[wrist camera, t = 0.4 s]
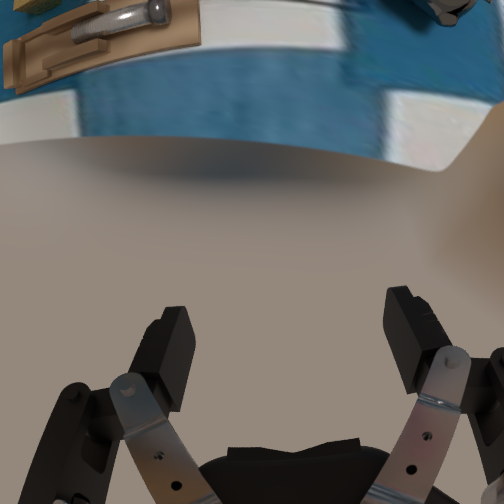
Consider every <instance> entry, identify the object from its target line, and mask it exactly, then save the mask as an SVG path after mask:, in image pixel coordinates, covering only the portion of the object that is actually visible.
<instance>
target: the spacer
mask: <svg viewBox="0 0 504 504" xmlns="http://www.w3.org/2000/svg"><path fill="white" fill-rule="evenodd" d="M61 4H62V0H14V9H13V11H18V12H24V13H30V14H35V15H40V14H42V13H44V12H46V11H48V10H50V9H52V8H54V7H57V6H59V5H61Z"/></svg>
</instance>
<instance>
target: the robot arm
mask: <svg viewBox="0 0 504 504" xmlns="http://www.w3.org/2000/svg"><path fill="white" fill-rule="evenodd" d="M383 328H384V332H385V335H386V338H387V340H388V343H389V345H390V348H391V350H392V353H393V356H394V359H395V361H396V364H397V367H398V369H399V372H400V375H401V378H402V381H403V383H404V386H405V389H406V392H407V394H411V393H416V392H417V394H418V399H417V401H416V404H415V406H414V408H413V410H412V412H411V415H410V417H409V419H408V421H407V423H406V425H405V427H404V429H403V431H402V433H401V435H400V437H399V439H398V441H397V443H396V445H395V446H394V448H393V450H392V452H391V454H389V453H387V452H385V451H382V450H380V449H377V448H373V447H368V446H361V445H360V440H359V438H354V439H348V440H341V441H334V442H327V443H324V444H321V445H318V446H315V447H312V448H308V449H306V450H302V451H299V452H295V453H291V452H284V451H278V450H272V449H267V448H261V447H250V448H249V447H246V448H245V447H239V448H238V447H234V448H233V447H228V451H227V456H223V457H220V458H217V459H214V460H211V461H209V462H207V463H205V464H204V465H202V466H200V467H198V465H197V464H196V463H195V461H194V460H193V458H192V457H191V455H190V454H189V452H188V451H187V449H186V448H185V446H184V444H183V443H182V441H181V440H180V438H179V437H178V435H177V433H176V432H175V430H174V428H173V427H172V425H171V424H170V422H169V420H168V416H169V413H170V412H171V411H172V412H180V408H181V404H182V400H183V395H184V392H185V388H186V383H187V379H188V375H189V371H190V367H191V363H192V359H193V355H194V351H195V345H196V341H195V334H194V331H193V328H192V325H191V322H190V319H189V316H188V312H187V310H186V308H185V306H175V307H166V308H165V310H164V312H163V314H162V317H161V319H157V320H154V321H153V322H152V323H151V324H150V325H149V326H148V327H147V329H146V331H145V334H144V336H143V339H142V340H141V343H140V347H138V349H137V352H136V354H135V356H134V359H133V361H132V364H131V366H130V368H129V371H128V373H125V374H122V375H120V376H119V377H117V378H116V379H115V380H114V381H113V382H112V384H111V386H110V387H109V388H105V389H100V390H94V391H91V390H90V389H89V387H88V386H87V385H86V384H84V383H81V382H76V383H72V384H70V385H68V386H67V387H65V388H64V389H63V390H62V392H61V393H60V396H59V398H58V400H57V402H56V404H55V407H54V409H53V411H52V413H51V416H50V418H49V420H48V423H47V425H46V428H45V430H44V432H43V435H42V438H41V440H40V442H39V445H38V447H37V450H36V453H35V455H34V458H33V461H32V463H31V466H30V469H29V472H28V475H27V477H26V481H25V483H24V486H23V489H22V492H21V496H20V499H19V502H18V504H105V501H106V496H107V492H108V488H109V483H110V479H111V475H112V471H113V467H114V462H115V458H116V455H117V451H118V447H119V443H120V440H123V439H124V440H125V442H126V445H127V447H128V449H129V451H130V454H131V456H132V458H133V460H134V462H135V464H136V466H137V468H138V470H139V472H140V474H141V476H142V478H143V480H144V482H145V484H146V486H147V488H148V490H149V492H150V494H151V495H152V497H153V499H154V501H155V503H156V504H459V503H458V502H457V501H455V500H454V499H452V498H451V497H449V496H448V495H446V494H445V493H443V492H442V491H441V490H439V489H438V488H436V487H435V486H433V484H434V481H435V479H436V477H437V475H438V473H439V470H440V468H441V466H442V463H443V461H444V458H445V456H446V453H447V451H448V448H449V446H450V443H451V440H452V438H453V434H454V432H455V429H456V426H457V423H458V420H459V417H460V414H467V415H468V418H469V421H470V424H471V427H472V430H473V434H474V437H475V440H476V443H477V446H478V450H479V453H480V457H481V461H482V464H483V468H484V472H485V476H486V480H487V484H488V486H487V488H486V489H485V490H484V492H483V494H482V497H481V504H504V347H501V348H498V349H496V350H494V351H493V353H492V354H491V357H490V358H470V356H469V354H468V353H467V352H466V351H465V350H464V349H462V348H460V347H457V346H453V345H452V343H451V341H450V340H449V338H448V336H447V334H446V332H445V331H444V329H443V327H442V326H441V324H440V322H439V321H438V319H437V317H436V315H435V314H434V313H433V310H432V309H431V307H430V306H429V304H428V303H427V302H426V301H425V300H423V299H422V298H421V297H419V296H417V297H413V295H412V294H411V292H410V290H409V289H408V287H407V286H398V287H390V288H388V289H387V293H386V300H385V308H384V316H383Z"/></svg>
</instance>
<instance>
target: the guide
mask: <svg viewBox="0 0 504 504" xmlns="http://www.w3.org/2000/svg"><path fill="white" fill-rule="evenodd" d="M145 1H148V0H105V1H102V2H101V1H99V0H96V1H94V2H91V3H88V4H86V5H83V6H80V7H78V8H75V9H73V10H71V11H68V12H66V13H64V14H61V15H59V16H57V17H55V18H52V19H50V20H48V21H46V22H44V23H42V26H41V27H39V28H37V29H35V30H33V31H31V32H29V33H27V34H26V35H24V36H22V37H20V38H18V39H16V40H14V39H12V40H11V41H9V42H7V43H5V44H4V45H3V74H4V89H9V88H15V91H16V95H18V94H23V93H25V92H28V91H30V90H32V89H35V88H37V87H40V86H42V85H45V84H47V83H50V82H53V81H55V80H58V79H61V78H64V77H66V76H69V75H72V74H75V73H78V72H81V71H84V70H88V69H91V68H94V67H98V66H101V65H105V64H108V63H112V62H116V61H119V60H123V59H127V58H132V57H136V56H140V55H145V54H150V53H155V52H160V51H165V50H171V49H177V48H183V47H189V46H197V45H201V27H200V5H199V0H170V3H171V9H172V18H171V22H170V23H168V24H163V25H158V26H153V25H152V24H148V25H144V26H140V27H136V28H132V29H128V30H124V31H121V32H117V33H114V34H110V35H107V36H104V37H100V38H97V39H94V40H91V41H88V42H85V43H82V44H79V45H77V44H75V43H74V42H73V40H72V37H71V28H72V26H73V25H74V24H76V23H78V22H81V21H84V20H86V19H89V18H92V17H95V16H98V15H101V14H104V13H107V12H110V11H113V10H116V9H120V8H123V7H127V6H130V5H134V4H138V3H141V2H145Z"/></svg>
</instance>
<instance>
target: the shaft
mask: <svg viewBox="0 0 504 504" xmlns="http://www.w3.org/2000/svg"><path fill="white" fill-rule="evenodd" d="M171 18H172V9H171V3H170V0H148V1H145V2H141V3H138V4H134V5H130V6H127V7H123V8H120V9H116V10H113V11H110V12H107V13H104V14H101V15H98V16H95V17H92V18H89V19H86V20H84V21H81V22H78V23H76V24H74V25H73V26H72V28H71V37H72V40H73V42H74V43H75V44H77V45H79V44H82V43H85V42H88V41H91V40H94V39H97V38H100V37H104V36H107V35H110V34H114V33H117V32H121V31H124V30H128V29H132V28H136V27H140V26H144V25H148V24H152V25H153V26H158V25H163V24H168V23H170V22H171Z"/></svg>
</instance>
